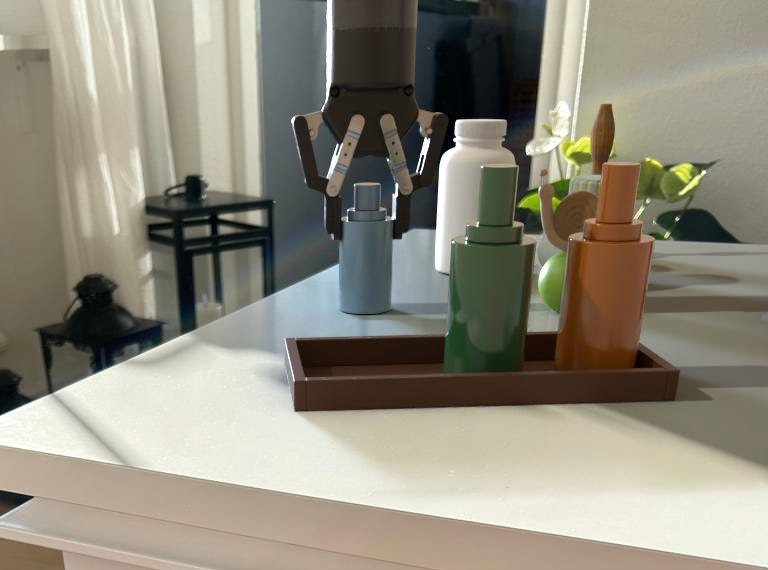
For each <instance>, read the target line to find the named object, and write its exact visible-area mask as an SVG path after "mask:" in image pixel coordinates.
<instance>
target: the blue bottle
mask: <svg viewBox="0 0 768 570" xmlns="http://www.w3.org/2000/svg"><path fill="white" fill-rule="evenodd" d="M381 195H382V184H381V183H379V182H357V183H354V184H353V206H352V207H350V208H347V209H346V215H345V216H341V241H338V310H339V311H341V312H343V313H347V314H353V315H354V314H355V315H375V314H383V313H387V312H389V311H391V310H392V297H393V295H392V294H393V268H394V267H393V265H394V241H395V240H394V218H393V217H392V216H389V215H388V209H387V208H386V207H382V206H381Z"/></svg>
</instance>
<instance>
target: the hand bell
mask: <svg viewBox="0 0 768 570" xmlns="http://www.w3.org/2000/svg"><path fill="white" fill-rule="evenodd" d="M615 123H616V122H615V117H614V112H613V104H612V103H600V104H599V107H598V111H597V113H596V115H595V118H594V121H593V123H592V127H591V132H590V140H589V142H590V143H589V148H590V156H591V157H590V158H591V174H590V175H601V173H602V165H603V163H606V162H609V158H610V157H611V154H612V151H613V146H614V142H615V135H616V124H615Z"/></svg>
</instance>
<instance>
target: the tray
mask: <svg viewBox="0 0 768 570" xmlns="http://www.w3.org/2000/svg"><path fill="white" fill-rule="evenodd" d="M557 332H558V330H552V331H551V330H550V331H549V330H548V331H547V330H546V331H545V330H544V331H527V339H526V349H525V358H524V368H523V372H488V373H451V374H443V364H444V348H445V333H431V334H430V333H429V334H428V333H427V334H395V335H391V334H390V335H354V336H353V335H351V336H348V335H347V336H316V337H315V336H313V337H311V336H309V337H285V338H283V339H284V340H283V343H284V367H285V373H286V378H287V383H288V388H289V392H290V398H291V403H292V407H293V412H296V413H297V412H298V413H299V412H302V413H303V412H330V411H331V412H333V411H334V412H335V411H336V412H337V411H366V410H368V411H369V410H370V411H371V410H373V411H374V410H403V409H404V410H405V409H434V408H435V409H437V408H438V409H439V408H472V407H473V408H474V407H509V406H511V407H512V406H540V405H542V406H543V405H572V404H573V405H576V404H577V405H579V404H612V403H613V404H615V403H617V404H619V403H649V402H650V403H651V402H675V401H676V397H677V393H678V386H679V380H680V374H681V369H679V368H677V367H676V366H675V365H674V364H672V363H670V362H669V361H667V360H666V359H665V358H663V357H661V356H660V355H659V354H657V353H656V352H654V351H653V350H651V349H650V348H648V347H647V346H645V345H644V344H642V343H641V342H640V341H639V346H638V352H637V359H636V365H635V369H599V370H562V371H553V366H554V357H555V349H556V340H557Z"/></svg>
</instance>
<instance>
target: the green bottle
mask: <svg viewBox="0 0 768 570" xmlns="http://www.w3.org/2000/svg"><path fill="white" fill-rule="evenodd" d="M519 170H520V166H519V165H517V164H515V165H512V164H487V165H482V166H481V175H480V188H479V201H478V215H477V221H471V222H468V223H467V224H466V233H465V235H461V236H457V237H454V238H453V239H452V240H451V255H450V271H449V274H448V288H447V289H448V290H447V302H446V304H447V305H446V316H445V317H446V319H445V333H444V334H445V348H444V364H443V374H451V373H488V372H523V368H524V358H525V349H526V339H527V332H528V328H529V318H530V310H531V309H530V308H531V299H532V290H533V280H534V271H535V261H536V252H537V239H535V238H533V237H530V236H526V235H524V232H525V224H524V222H520V221H515V215H516V214H515V213H516V203H517V202H516V201H517V194H518V193H517V191H518V180H519Z"/></svg>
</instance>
